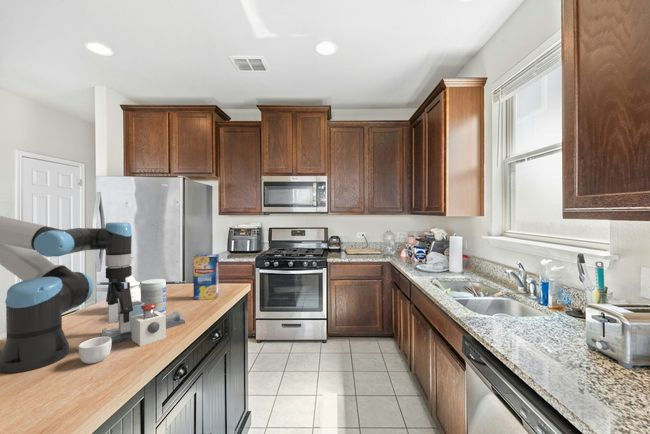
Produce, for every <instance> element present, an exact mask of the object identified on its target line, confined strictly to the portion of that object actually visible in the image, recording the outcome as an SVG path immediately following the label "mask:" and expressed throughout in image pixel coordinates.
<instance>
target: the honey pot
mask: <svg viewBox="0 0 650 434" xmlns="http://www.w3.org/2000/svg"><path fill="white" fill-rule="evenodd" d="M126 282H129V283H130V293H131V299H132V302H136V301H140V302H141V287H140V286H139V285H141V282H140V281H137V280H136V278H135V277H134V276H133V275H131V276H130V277H127V278H126ZM118 302H119V299H118ZM115 304H118V315H119V306H120V303H115Z"/></svg>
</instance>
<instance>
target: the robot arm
mask: <svg viewBox="0 0 650 434" xmlns="http://www.w3.org/2000/svg"><path fill="white" fill-rule="evenodd" d="M132 237H133V233H132V225H131V224H130V223H129V222H106V223H105V226H104V227H101V228H99V227H98V228H95V227H93V228H91V227H89V228H87V227H83V228H82V227H75V228H67V229H61V228H56V227H52V226H48V225H42V224H39V223H38V224H37V223H34V222H29V221H25V220H20V219H16V218H11V217H7V216H3V215H0V266H2V267H3V268H5V269H6V270H7V271H9V272H10V273H12V275H15V277H17V278H18V279H20V280H21V281H19V282H17V283H14V284H13V285H11V286H10V287H9V288H8V289H7V291H6V298H5V302H4V303H5V305H6V306H5V309H6V311H5V312H6V313H5V314H6V315H5V316H6V317H5V318H6V324H5V325H6V338H5V339H6V340H5V342H4V344H3V347H2V348H1V352H0V373H3V374H4V373H5V374H11V373H20V372H26V371H27V372H28V371H31V370H35V369H39V368H42V367H45V366H48V365H51V364H53V363H55V362H58V361H60V360H62V359H64V358H65V357H66V356H68V355H69V353H70V343H69V341H68V339H67V336H66V335H65V333H64V330H63V327H62V326H63V325H62V324H63V318H62V317H63V314H64V313H66V312H68V311H70V310H73V309H75V308H77V307H80V306H81V305H82V304H83V303H85V302H86V301H88V300H89V299H90V298H91V296H92V294H93V291H94V282H93V279H92V278H91V277H90V276H89V275H88V274H86V273H84V272H82V271H81V272H80V271H72V270H71V269H70V268H68V266H65V264H58V265H57V264H56V265H55V264H54V263H53V262H51V261H50V260H49V259H47V258H46V257H50V258H51V257H52V258H53V257H61V256H65V255H70V254H73V253H79V252H83V251H98V250H100V251H101V250H103V251H104V250H105V258H104V260H105V262H104V264H105V267H106V268H105V278H106V279H107V280H108V286H107V291H106V292H107V293H106V298H105V302H106V303H107V310H108V311H107V313H108V315H107V316H108V317H107V319H108V320H107V321H108V325H110V324H114V323H117V322H118V323H119V314H120V333H123V332H127V331H130V312H131V311H133V306H132V299H131V293H130V283H129V282H126V278H127V277H130V276H131V275H132V272H133V270H132V269H133V268H132V266H131V265H132V259H133V258H134V255H132V253H133V252H132V244H133V243H132V240H133V239H132ZM132 276H133V275H132ZM118 299H119V302H118ZM115 303H120V308H121V312H119V314H118V304H115ZM126 308H127V309H126Z"/></svg>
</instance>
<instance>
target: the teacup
mask: <svg viewBox="0 0 650 434" xmlns="http://www.w3.org/2000/svg"><path fill="white" fill-rule="evenodd" d="M112 345H113V344H112V339H111V337H101V336H97V337H92V338H90V339H87V340H84V341H82V342H80V343H79V345H78V357H79V358H80V361H81V362H83V363H85V364H89V365H90V364H91V365H92V364H96V363H99V362H103V360H105V359H106V358H107V357H108V356H109V354H110V353H111V351H112V350H111V349H112Z"/></svg>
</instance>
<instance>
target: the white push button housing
mask: <svg viewBox="0 0 650 434" xmlns="http://www.w3.org/2000/svg"><path fill="white" fill-rule="evenodd" d="M166 315H167V314H166ZM166 315H165V314H162V313H160V312H158V311H154V317H152V318H148V319H144V320H143V314H140V315H136V316H132V317H131V339H130V340H131V341H132V342H134V343H135V344H137V345H138V346H139V347H143V346H145V345H148V344H152V343H156V342H159V341H162V340H164V339H167V328H166Z"/></svg>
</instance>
